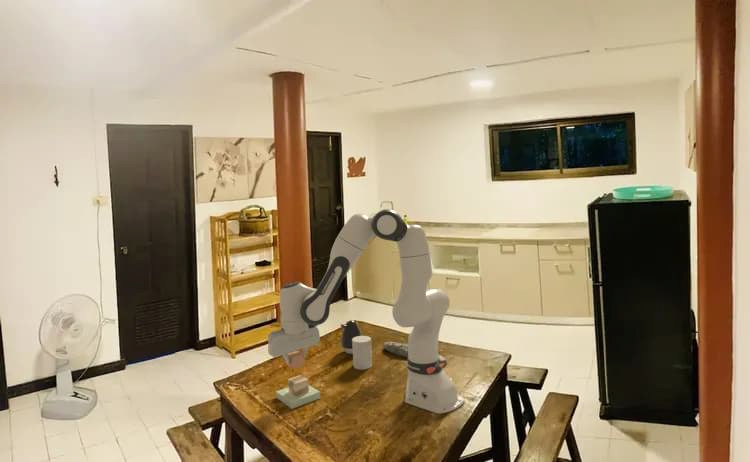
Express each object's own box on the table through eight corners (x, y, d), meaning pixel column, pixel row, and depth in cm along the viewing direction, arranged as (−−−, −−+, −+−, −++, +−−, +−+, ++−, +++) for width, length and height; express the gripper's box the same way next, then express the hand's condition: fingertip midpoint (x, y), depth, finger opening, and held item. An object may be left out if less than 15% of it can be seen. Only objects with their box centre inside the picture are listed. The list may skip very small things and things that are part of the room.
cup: (371, 369, 206) (370, 342, 204) (352, 369, 206) (351, 342, 205) (372, 361, 214) (371, 335, 212) (354, 362, 214) (352, 336, 213)
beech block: (308, 392, 181) (308, 379, 181) (295, 396, 178) (295, 383, 177) (301, 387, 185) (300, 374, 185) (288, 391, 182) (287, 379, 181)
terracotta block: (304, 365, 181) (303, 354, 180) (293, 369, 178) (292, 357, 177) (298, 362, 184) (297, 350, 184) (287, 365, 181) (286, 353, 181)
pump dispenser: (337, 351, 228) (335, 319, 226) (357, 346, 233) (355, 316, 231) (346, 358, 219) (345, 325, 217) (367, 353, 224) (365, 321, 222)
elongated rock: (438, 373, 203) (451, 366, 210) (438, 361, 202) (452, 355, 209) (377, 350, 227) (391, 345, 234) (377, 339, 226) (391, 334, 233)
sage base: (320, 398, 181) (319, 391, 181) (291, 408, 174) (291, 402, 174) (303, 387, 191) (303, 381, 190) (276, 397, 183) (275, 391, 183)
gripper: (271, 334, 170) (274, 372, 172) (321, 321, 183) (323, 356, 184) (263, 330, 175) (266, 366, 177) (312, 317, 188) (314, 352, 189)
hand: (295, 361), depth 181 cm, fingers closed on terracotta block, 4 cm apart
